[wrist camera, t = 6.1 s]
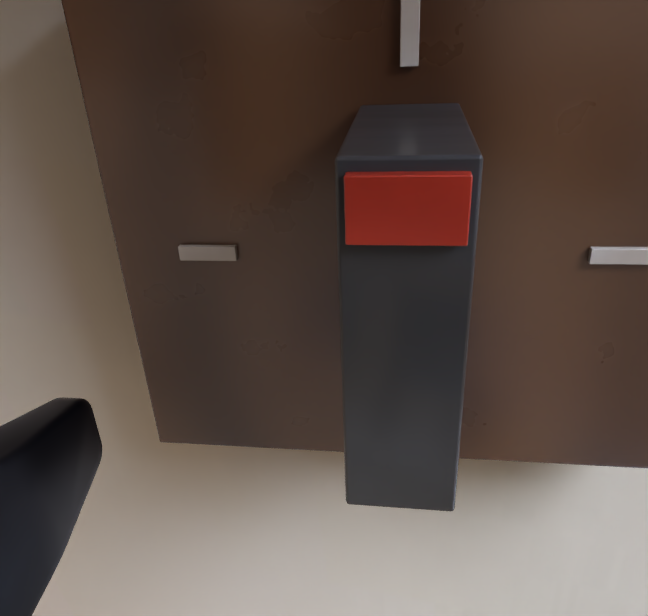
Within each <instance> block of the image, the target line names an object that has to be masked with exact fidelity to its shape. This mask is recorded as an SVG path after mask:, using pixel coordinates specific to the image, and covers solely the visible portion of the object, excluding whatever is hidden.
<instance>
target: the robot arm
mask: <svg viewBox="0 0 648 616" xmlns="http://www.w3.org/2000/svg"><path fill="white" fill-rule="evenodd" d="M101 456H102V443H101V439H100V435H99V432H98V428H97V425H96V421H95V418H94V414H93V410H92V407H91V405H90V404H89V402H88V401H87V400H84V399H80V398H56V399H54V400H52V401H50V402H48V403H46V404H44V405H42V406H40V407H38V408H36V409H34V410H32V411H30V412H28V413H26V414H24V415H22V416H20V417H18V418H16V419H14V420H12V421H10V422H8V423H6V424H4V425H2V426H0V616H32V614H33V612H34V610H35V608H36V606H37V604H38V602H39V600H40V598H41V597H42V595H43V593H44V591H45V589H46V587H47V585H48V583H49V581H50V579H51V577H52V575H53V573H54V571H55V569H56V567H57V565H58V563H59V561H60V559H61V557H62V555H63V552H64V550H65V548H66V546H67V543H68V541H69V538H70V536H71V533H72V531H73V528H74V526H75V523H76V521H77V518H78V516H79V513H80V511H81V508H82V506H83V504H84V501H85V499H86V496H87V494H88V491H89V489H90V486H91V484H92V481H93V479H94V476H95V474H96V471H97V469H98V466H99V464H100V461H101Z"/></svg>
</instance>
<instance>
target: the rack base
mask: <svg viewBox="0 0 648 616" xmlns="http://www.w3.org/2000/svg"><path fill="white" fill-rule="evenodd" d="M61 1H62V5H63V9H64V14H65V18H66V23H67V27H68V32H69V36H70V41H71V45H72V50H73V54H74V59H75V63H76V68H77V72H78V76H79V81H80V85H81V90H82V94H83V99H84V103H85V108H86V112H87V117H88V121H89V126H90V130H91V135H92V139H93V143H94V148H95V152H96V157H97V161H98V166H99V170H100V175H101V179H102V184H103V188H104V193H105V197H106V201H107V206H108V210H109V215H110V219H111V224H112V228H113V233H114V237H115V242H116V246H117V251H118V255H119V260H120V264H121V268H122V273H123V277H124V282H125V286H126V291H127V295H128V300H129V304H130V309H131V313H132V318H133V322H134V327H135V331H136V335H137V340H138V344H139V349H140V353H141V358H142V362H143V367H144V371H145V376H146V380H147V385H148V389H149V393H150V398H151V402H152V407H153V411H154V416H155V420H156V425H157V429H158V434H159V438H160V441H161V442H170V443H189V444H207V445H226V446H244V447H263V448H281V449H300V450H318V451H337V452H344V428H343V398H342V368H341V338H340V308H339V279H338V249H337V219H336V189H335V158H336V156H337V154H338V152H339V150H340V147H341V145H342V143H343V141H344V139H345V137H346V135H347V133H348V131H349V129H350V127H351V125H352V123H353V121H354V119H355V117H356V115H357V113H358V110H359V108H360V106H362V105H395V104H438V103H458V104H460V107H461V109H462V111H463V113H464V116H465V118H466V120H467V122H468V125H469V127H470V129H471V131H472V134H473V136H474V138H475V140H476V143H477V145H478V147H479V149H480V152H481V154H482V156H483V171H482V183H481V195H480V207H479V219H478V231H477V243H476V255H475V267H474V279H473V291H472V304H471V316H470V328H469V340H468V352H467V364H466V376H465V388H464V400H463V412H462V424H461V436H460V448H459V458H466V459H485V460H503V461H522V462H540V463H559V464H577V465H596V466H614V467H633V468H648V0H61Z"/></svg>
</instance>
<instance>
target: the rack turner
mask: <svg viewBox="0 0 648 616" xmlns="http://www.w3.org/2000/svg"><path fill="white" fill-rule="evenodd" d="M482 171H483V156H482V154H481V152H480V149H479V147H478V145H477V143H476V140H475V138H474V136H473V134H472V131H471V129H470V127H469V125H468V122H467V120H466V118H465V116H464V113H463V111H462V109H461V107H460V104H458V103H438V104H395V105H362V106H360V108H359V110H358V113H357V115H356V117H355V119H354V121H353V123H352V125H351V127H350V129H349V131H348V133H347V135H346V137H345V139H344V141H343V143H342V145H341V147H340V150H339V152H338V154H337V156H336V158H335V189H336V219H337V249H338V279H339V308H340V338H341V368H342V398H343V428H344V457H345V487H346V502H347V503H348V504H354V505H369V506H383V507H397V508H411V509H426V510H440V511H453V510H454V508H455V496H456V484H457V472H458V460H459V448H460V436H461V424H462V412H463V400H464V388H465V376H466V364H467V352H468V340H469V328H470V316H471V304H472V291H473V279H474V267H475V255H476V243H477V231H478V219H479V207H480V195H481V183H482Z"/></svg>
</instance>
